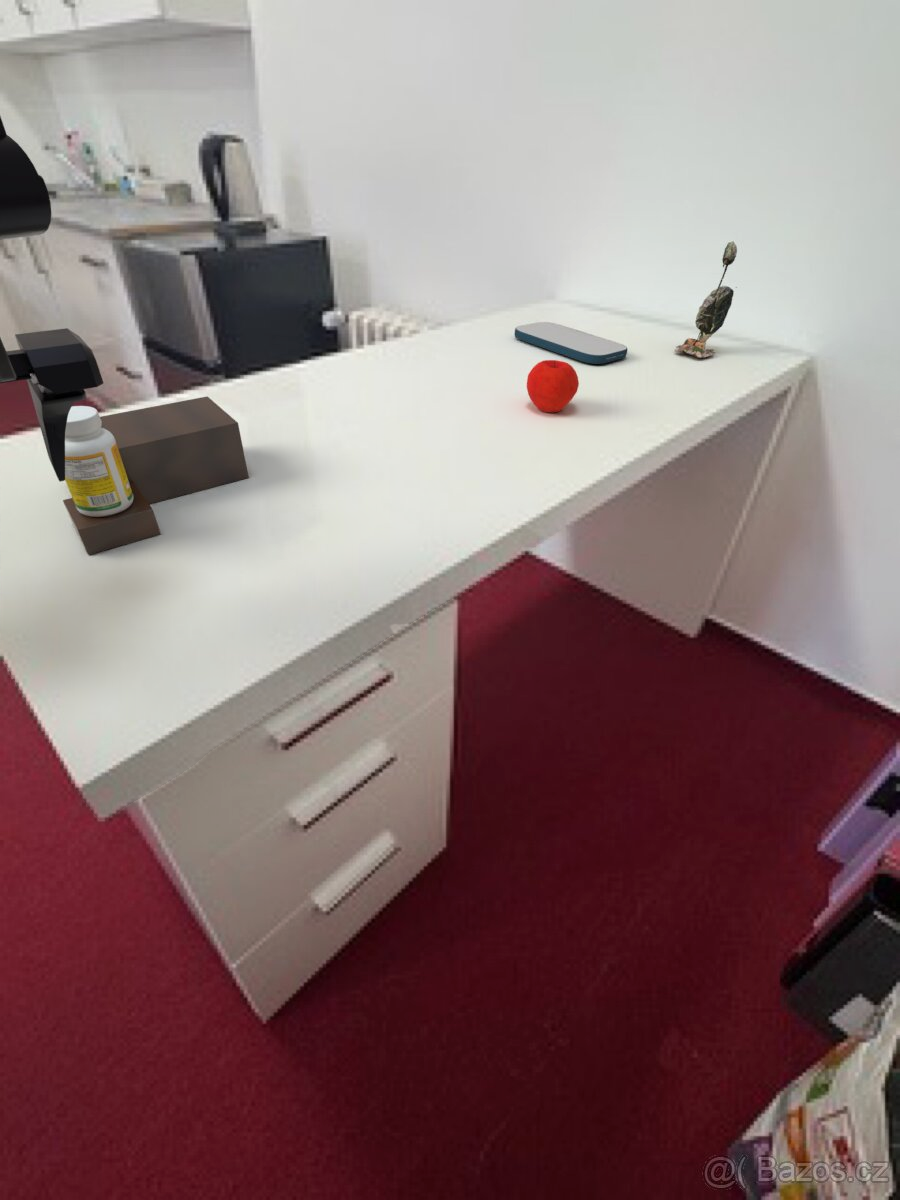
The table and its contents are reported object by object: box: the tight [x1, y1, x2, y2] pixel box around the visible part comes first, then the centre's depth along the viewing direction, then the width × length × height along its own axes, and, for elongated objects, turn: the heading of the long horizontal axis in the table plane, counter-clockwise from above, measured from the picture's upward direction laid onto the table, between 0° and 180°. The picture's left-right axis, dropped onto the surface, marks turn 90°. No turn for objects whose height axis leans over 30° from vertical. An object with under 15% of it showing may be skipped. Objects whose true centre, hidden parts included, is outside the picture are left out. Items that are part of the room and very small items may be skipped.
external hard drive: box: [514, 321, 628, 365], centre depth 120 cm, size 24×12×2 cm, turn 39°
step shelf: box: [62, 395, 250, 556], centre depth 67 cm, size 20×17×7 cm
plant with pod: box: [674, 240, 738, 359], centre depth 115 cm, size 8×11×20 cm
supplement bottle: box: [65, 405, 133, 517], centre depth 58 cm, size 5×5×10 cm
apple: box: [526, 359, 580, 413], centre depth 92 cm, size 8×8×7 cm
